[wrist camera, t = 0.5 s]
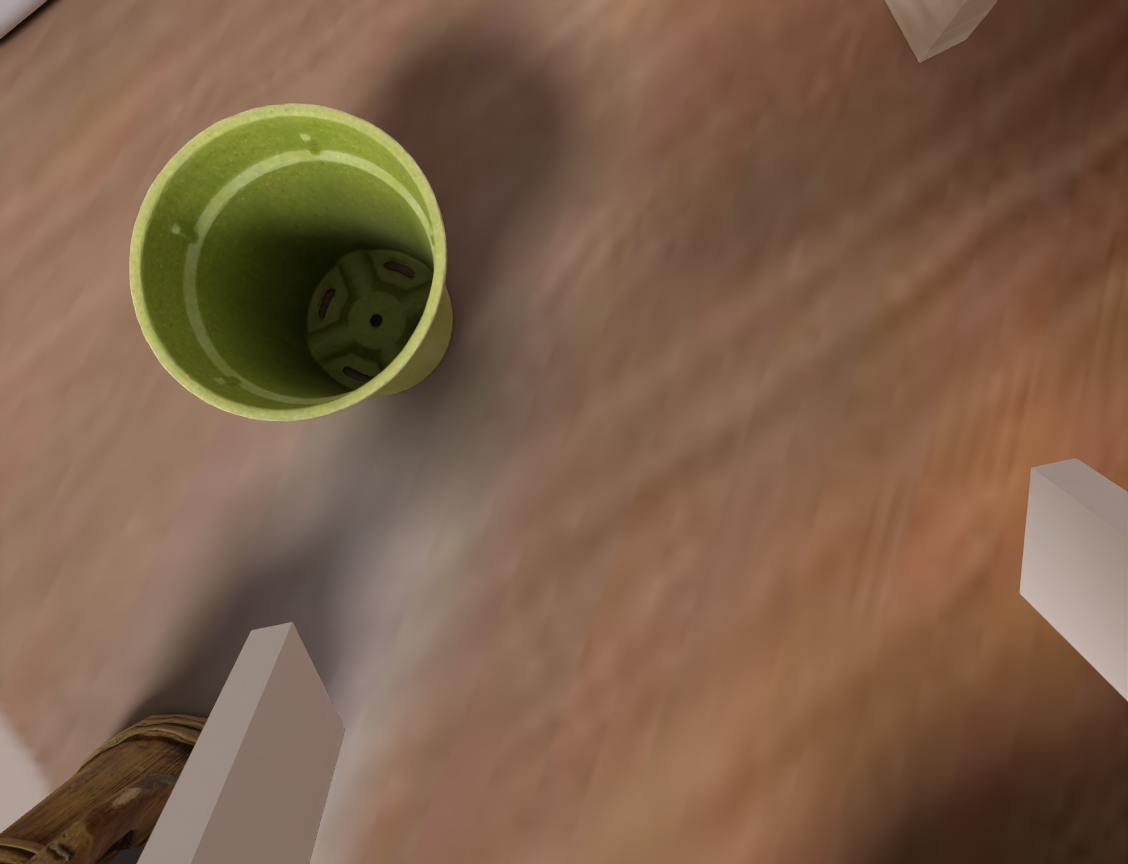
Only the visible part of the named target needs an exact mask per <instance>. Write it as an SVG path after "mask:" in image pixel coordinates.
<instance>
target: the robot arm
mask: <svg viewBox="0 0 1128 864" xmlns="http://www.w3.org/2000/svg"><path fill="white" fill-rule="evenodd" d="M1020 594H1021V595H1022V596H1023V597H1024V598H1025V599H1026V600H1027V601H1028V602H1029V603H1030V604H1031V605H1032V606H1033V607H1034V608H1035V609H1036V610H1037V611H1038V612H1039V613H1040V614H1041V615H1042V616H1043V617H1044V618H1045V619H1046V620H1047V621H1048V622H1049V623H1050V624H1051V625H1052V626H1053V627H1054V628H1055V629H1056V630H1057V631H1058V632H1059V633H1060V634H1061V635H1062V636H1063V637H1064V638H1065V639H1066V640H1067V641H1068V642H1069V643H1070V644H1071V645H1072V646H1073V647H1074V648H1075V649H1076V650H1077V651H1078V652H1079V653H1080V654H1081V655H1082V656H1083V657H1084V658H1085V659H1086V660H1087V661H1088V662H1089V663H1090V664H1091V665H1092V666H1093V667H1094V668H1095V669H1096V670H1097V671H1098V672H1099V673H1100V674H1101V675H1102V676H1103V677H1104V678H1105V679H1106V680H1107V681H1108V682H1109V683H1110V684H1111V685H1112V686H1113V687H1114V688H1115V689H1116V690H1117V691H1118V692H1119V693H1120V694H1121V695H1122V696H1123V697H1124V698H1125V699H1126V700H1127V701H1128V492H1127V491H1125V490H1124V489H1122V488H1121V487H1119V486H1118V485H1116V484H1115V483H1113V482H1112V481H1110V480H1109V479H1107V478H1106V477H1104V476H1103V475H1101V474H1099V473H1098V472H1096V471H1095V470H1093V469H1092V468H1090V467H1089V466H1087V465H1086V464H1084V463H1083V462H1081V461H1080V460H1078V459H1077V458H1075V459H1070V460H1065V461H1060V462H1056V463H1051V464H1046V465H1041V466H1036V467H1032V468H1031V477H1030V487H1029V498H1028V509H1027V519H1026V530H1025V541H1024V551H1023V562H1022V573H1021V583H1020ZM344 732H345V728H344V726H343V724H342V722H341V720H340V718H339V716H338V714H337V712H336V709H335V707H334V705H333V703H332V701H331V699H330V697H329V695H328V693H327V691H326V689H325V687H324V685H323V683H322V681H321V679H320V677H319V675H318V673H317V671H316V669H315V666H314V664H313V662H312V660H311V658H310V656H309V654H308V652H307V650H306V648H305V646H304V644H303V642H302V640H301V638H300V636H299V634H298V632H297V630H296V628H295V625H294V623H293V622H289V623H284V624H280V625H275V626H270V627H265V628H260V629H256V630H251V632H250V634H249V636H248V638H247V640H246V642H245V644H244V646H243V648H242V650H241V652H240V654H239V656H238V659H237V661H236V663H235V665H234V667H233V669H232V671H231V673H230V675H229V677H228V679H227V681H226V683H225V685H224V687H223V689H222V691H221V693H220V695H219V697H218V699H217V701H216V703H215V705H214V707H213V709H212V711H211V713H210V716H209V718H208V720H207V722H206V724H205V726H204V728H203V730H202V732H201V734H200V736H199V738H198V740H197V742H196V744H195V746H194V748H193V750H192V752H191V754H190V756H189V758H188V760H187V762H186V764H185V766H184V768H183V770H182V773H181V775H180V777H179V779H178V781H177V783H176V785H175V787H174V789H173V791H172V793H171V795H170V797H169V799H168V801H167V803H166V805H165V807H164V809H163V811H162V813H161V815H160V817H159V819H158V821H157V823H156V825H155V827H154V830H153V832H152V834H151V836H150V838H149V840H148V842H147V844H146V845H145V846H140V847H135V848H130V849H125V850H120V852H119V853H118V854H117V855H116V856H115V857H114V859H113V860H112V861H111V862H110V863H109V864H309V863H310V859H311V855H312V852H313V848H314V844H315V840H316V837H317V833H318V829H319V825H320V822H321V818H322V814H323V811H324V807H325V803H326V799H327V796H328V792H329V788H330V784H331V781H332V777H333V773H334V770H335V766H336V762H337V758H338V755H339V751H340V747H341V743H342V740H343V736H344Z"/></svg>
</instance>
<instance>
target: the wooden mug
mask: <svg viewBox="0 0 1128 864" xmlns="http://www.w3.org/2000/svg"><path fill="white" fill-rule="evenodd" d="M207 720H208V718H203V717H197V716H192V715H186V714H164V715H151V716H149V717H147V718H145V719H144V720H142V721H140V722H138V723H136V724H134V725H133V726H131V727H129V728H127V729H125V730H123V731H121V732H120V733H118V734H116V735H115V736H113V737H112V738H111V739H109V740H108V741H107V742H105V743H104V744H103V745H101V746H100V747H99V748H98V749H97V750H96V751H94V752H93V753H92V754H91V755H90V756H89V757H88V758H87V759H86V760H84V761H83V762H82V763H81V764H80V765H79V767H78V768H77V769H76V771H75V772H74V774H73V775H72V777H71V778H70V779H69V780H68V781H67V782H65V783H64V784H63V785H62V786H60V787H59V788H58V789H56V790H55V791H54V792H53V793H51V794H50V795H49V796H48V797H46V798H45V799H44V800H42V801H41V802H40V803H39V804H37V805H36V806H35V807H34V808H32V809H31V810H30V811H29V812H27V813H26V814H25V815H24V816H22V817H21V818H20V819H19V820H17V821H16V822H15V823H13V824H12V825H11V826H9V827H8V828H7V829H6V830H4V831H3V832H2V833H0V864H109V863H110V862H111V861H112V860H113V859H114V857H115V856H116V855H117V854H118V853H119V852H120V850H125V849H130V848H135V847H140V846H145V845H146V844H147V842H148V840H149V838H150V836H151V834H152V832H153V830H154V827H155V825H156V823H157V821H158V819H159V817H160V815H161V813H162V811H163V809H164V807H165V805H166V803H167V801H168V799H169V797H170V795H171V793H172V791H173V789H174V787H175V785H176V783H177V781H178V779H179V777H180V775H181V773H182V770H183V768H184V766H185V764H186V762H187V760H188V758H189V756H190V754H191V752H192V750H193V748H194V746H195V744H196V742H197V740H198V738H199V736H200V734H201V732H202V730H203V728H204V726H205V724H206V722H207Z"/></svg>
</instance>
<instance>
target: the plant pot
mask: <svg viewBox="0 0 1128 864" xmlns="http://www.w3.org/2000/svg"><path fill="white" fill-rule="evenodd" d="M391 261H394V262H398V263H400V264H402V265H405V266H407V267H409V268H410V269H412V270H413V271H414V273H415V277H414V278H409V277H407V276H405V275H403V274H402V273H399V272H397V271H393V270H388V269H385V267H384V264H385V263H387V262H391ZM447 262H448V251H447V240H446V231H445V226H444V222H443V218H442V214H441V210H440V207H439V205H438V202H437V199H436V197H435V195H434V192H433V190H432V188H431V186H430V184H429V181H428V180H427V178H426V176H425V175H424V173H423V171H422V170H421V169H420V167H419V166H418V164H417V163H416V162H415V160H414V159H413V158H412V156H411V155H410V154H409V153H408V152H407V151H406V150H405V149H404V148H403V147H402V146H401V145H400V144H399V143H398V142H397V141H395V140H394V139H393V138H392V137H391V136H390V135H388V134H387V133H386V132H384V131H383V130H381V129H380V128H378V127H377V126H375V125H373V124H371V123H370V122H368V121H366V120H364V119H362V118H359V117H357V116H354V115H352V114H350V113H347V112H344V111H340V110H337V109H333V108H330V107H325V106H319V105H312V104H303V103H294V104H280V105H269V106H264V107H258V108H254V109H250V110H247V111H244V112H242V113H239V114H236V115H234V116H231V117H228V118H225V119H223V120H220V121H218V122H216V123H215V124H213V125H212V126H210V127H208V128H207V129H205V130H204V131H202V132H201V133H199V134H198V135H197V136H195V137H194V138H193V139H191V140H190V141H189V142H188V143H187V144H185V145H184V146H183V147H182V148H181V149H180V150H179V151H178V152H177V153H176V154H175V155H174V156H173V157H172V159H171V160H170V161H169V162H168V163H167V165H166V166H165V167H164V168H163V170H162V171H161V172H160V173H159V174H158V176H157V177H156V179H155V181H154V182H153V183H152V185H151V187H150V188H149V190H148V192H147V194H146V197H145V199H144V201H143V204H142V206H141V208H140V211H139V214H138V217H137V219H136V222H135V225H134V229H133V234H132V239H131V245H130V264H129V273H130V288H131V295H132V299H133V304H134V308H135V312H136V315H137V319H138V321H139V324H140V326H141V329H142V331H143V334H144V336H145V338H146V340H147V342H148V343H149V345H150V347H151V349H152V351H153V352H154V354H155V355H156V357H157V358H158V360H159V361H160V363H161V364H162V365H163V366H164V368H165V369H166V370H167V371H168V372H169V373H170V374H171V375H172V376H173V377H174V378H175V379H176V380H177V381H178V382H179V383H180V384H181V385H182V386H183V387H185V388H186V389H187V390H189V391H190V392H191V393H193V394H194V395H196V396H197V397H199V398H200V399H202V400H204V401H205V402H207V403H209V404H211V405H213V406H215V407H217V408H219V409H222V410H224V411H226V412H229V413H232V414H236V415H239V416H243V417H247V418H250V419H257V420H266V421H297V420H306V419H312V418H318V417H322V416H326V415H329V414H332V413H335V412H338V411H342V410H344V409H346V408H349V407H351V406H353V405H355V404H357V403H359V402H361V401H363V400H365V399H367V398H368V397H376V396H387V395H392V394H395V393H399V392H402V391H404V390H407V389H409V388H411V387H413V386H414V385H416V384H418V383H420V382H421V381H423V380H424V379H425V378H426V377H427V376H428V375H430V374H431V373H432V372H433V370H434V369H435V368H436V367H437V365H438V364H439V363H440V361H441V360H442V358H443V356H444V354H445V352H446V350H447V348H448V345H449V342H450V338H451V333H452V326H453V313H452V305H451V301H450V297H449V294H448V291H447V288H446V285H445V282H446V275H447ZM330 289H335V294H334V296H333V298H332V299H331V301H330V302H329V304H328V307H327V310H326V314H325V318H324V319H321V317H320V316H319V309H320V306H321V303H322V300H323V297H324V295H325V294H326V292H327V291H329V290H330ZM375 314H378V315H380V316H381V317H382V322H381V325H380V326H378V327H373V326H372V325H371V323H370V320H371V318H372V317H373V316H374V315H375ZM345 366H348V367H350V368H352V369H353V370H356V371H357V372H359V373H362V374H365V375H368V376H371V377H373V379H372V380H370V381H369V382H361V381H357V380H354V379H352V378H350V377H348V376H346V374H345V373H344V371H343V368H344V367H345Z"/></svg>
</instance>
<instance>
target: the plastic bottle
mask: <svg viewBox="0 0 1128 864" xmlns="http://www.w3.org/2000/svg"><path fill="white" fill-rule="evenodd" d="M46 1H47V0H0V39H1V38H2V37H3V36H5V35H6V34H7V33H8V32H9V31H11V30H12V29H13V28H14V27H15V26H17V25H18V24H19V23H20V22H22V21H23V20H24V19H25V18H26V17H28V16H29V15H30V14H31V13H32V12H34V11H35V10H36V9H37V8H39V7H40V6H41V5H42V4H43V3H45V2H46Z"/></svg>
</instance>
